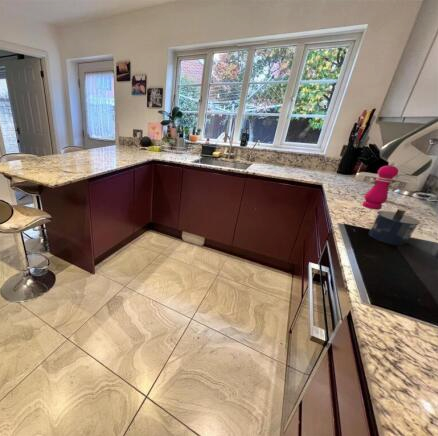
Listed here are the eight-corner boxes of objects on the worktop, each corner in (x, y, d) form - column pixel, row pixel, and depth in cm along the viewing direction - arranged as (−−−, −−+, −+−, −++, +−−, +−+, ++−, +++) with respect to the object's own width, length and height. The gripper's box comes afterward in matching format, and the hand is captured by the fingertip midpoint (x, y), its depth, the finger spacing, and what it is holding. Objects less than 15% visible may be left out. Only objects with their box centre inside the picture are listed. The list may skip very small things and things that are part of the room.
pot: (413, 245, 93) (426, 224, 89) (387, 245, 92) (399, 224, 88) (385, 231, 104) (395, 212, 100) (361, 231, 103) (370, 212, 99)
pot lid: (428, 226, 89) (434, 216, 87) (398, 226, 88) (404, 216, 86) (394, 213, 100) (399, 204, 99) (368, 213, 99) (372, 204, 98)
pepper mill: (364, 208, 101) (386, 162, 93) (357, 203, 107) (377, 159, 99) (385, 211, 99) (409, 164, 91) (377, 205, 105) (398, 161, 97)
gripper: (361, 167, 112) (354, 171, 104) (423, 177, 98) (420, 181, 90) (356, 180, 115) (348, 184, 107) (415, 191, 100) (411, 197, 92)
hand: (382, 183), depth 98 cm, fingers closed on pepper mill, 5 cm apart
